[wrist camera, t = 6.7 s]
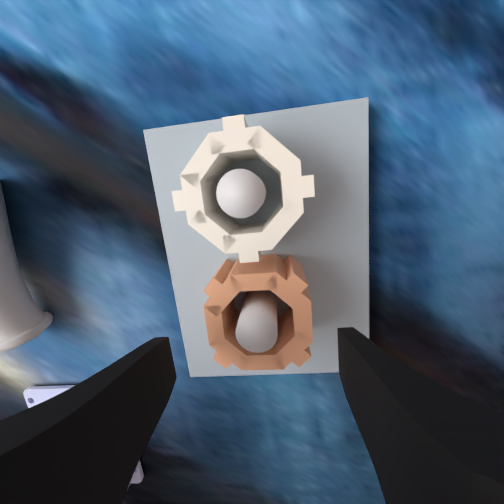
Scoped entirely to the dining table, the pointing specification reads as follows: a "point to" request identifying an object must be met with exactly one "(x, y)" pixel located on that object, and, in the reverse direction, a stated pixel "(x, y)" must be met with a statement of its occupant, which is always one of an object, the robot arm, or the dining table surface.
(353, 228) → the gear board
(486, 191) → the dining table surface
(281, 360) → the gear
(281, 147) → the gear
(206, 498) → the dining table surface
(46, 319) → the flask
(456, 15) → the dining table surface
